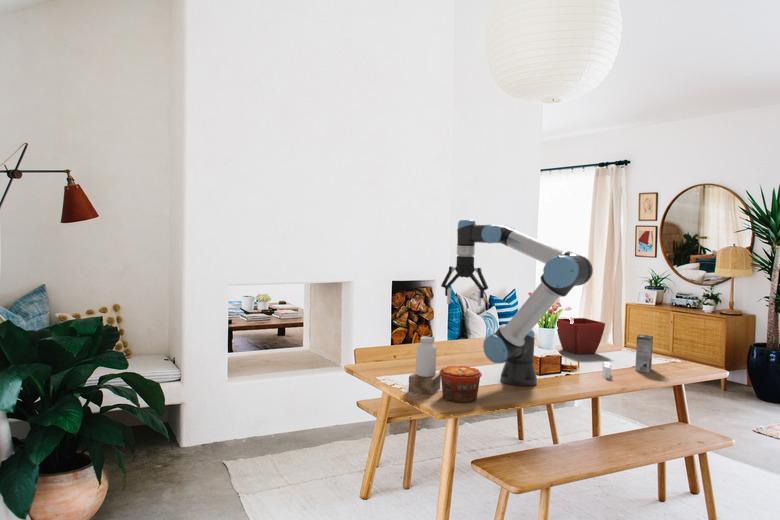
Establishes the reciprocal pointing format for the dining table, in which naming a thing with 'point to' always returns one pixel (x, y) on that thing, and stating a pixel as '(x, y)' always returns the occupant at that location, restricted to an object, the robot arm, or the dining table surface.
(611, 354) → the dining table surface
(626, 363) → the dining table surface
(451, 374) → the food container
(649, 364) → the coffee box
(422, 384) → the walnut block
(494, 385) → the dining table surface
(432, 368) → the pill bottle
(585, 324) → the plant pot
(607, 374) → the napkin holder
